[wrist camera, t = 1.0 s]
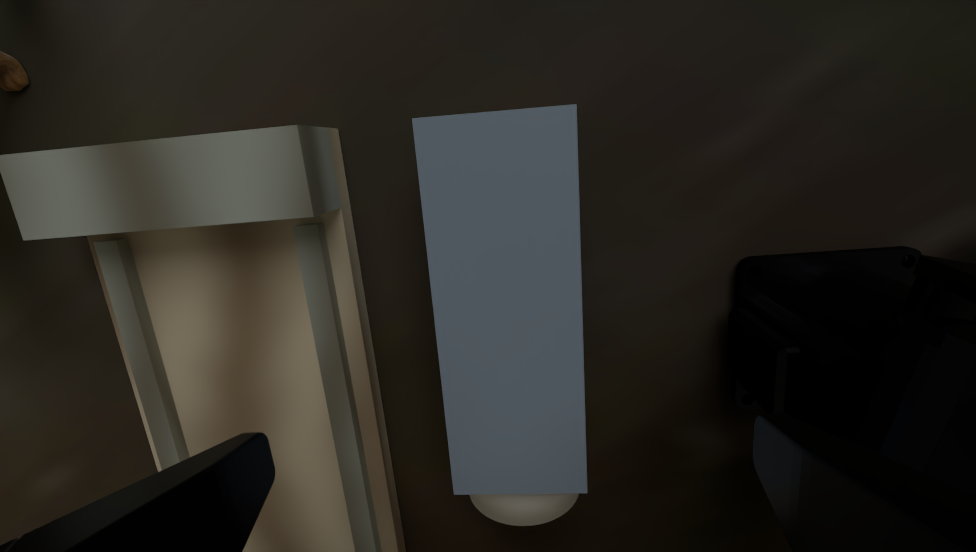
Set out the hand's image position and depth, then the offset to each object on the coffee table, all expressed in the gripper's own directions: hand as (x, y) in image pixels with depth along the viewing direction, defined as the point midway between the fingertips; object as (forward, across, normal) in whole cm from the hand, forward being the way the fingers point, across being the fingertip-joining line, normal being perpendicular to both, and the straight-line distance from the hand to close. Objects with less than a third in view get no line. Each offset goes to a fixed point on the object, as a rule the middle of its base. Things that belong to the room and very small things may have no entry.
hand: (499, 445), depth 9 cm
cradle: (+12, +12, +5) cm, 17 cm away
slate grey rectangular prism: (+12, 0, 0) cm, 12 cm away
